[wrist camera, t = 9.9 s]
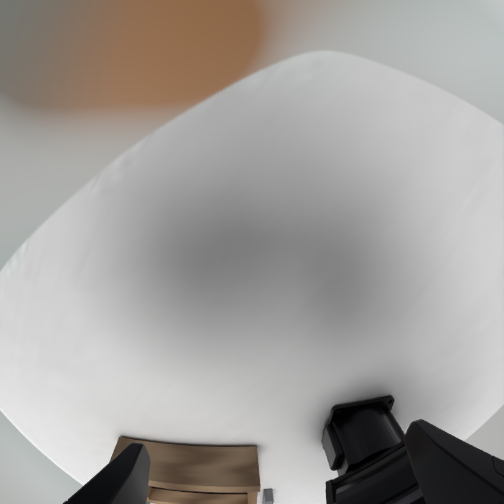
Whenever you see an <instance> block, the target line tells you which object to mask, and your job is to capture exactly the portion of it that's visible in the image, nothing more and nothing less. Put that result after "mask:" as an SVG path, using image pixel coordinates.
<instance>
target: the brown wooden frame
mask: <svg viewBox="0 0 504 504" xmlns="http://www.w3.org/2000/svg"><path fill="white" fill-rule="evenodd" d="M131 442H138V443H143V444H144V445H145V446H146V449H147V451H148V454H149V456H150V472H149V482H148V494H147V501H146V502H150V503H156V504H257V492H260V477H259V466H258V455H257V446H255V447H205V446H187V445H174V444H164V443H155V442H148V441H140V440H134V439H128V438H122V437H119V439H118V441H117V444H116V447H115V449H114V452H113V454H112V457H111V460H110V462H111V461H112V460H113V459H114V458H115V457H116V456H117V455H118V454H119V453H120V452H121V451H123V450H124V449H125V448H126V447H127V446H128V445H129V444H130V443H131ZM110 462H109V463H110ZM151 486H154V487H161V488H168V489H177V490H188V491H202V492H247V494H202V493H188V492H177V491H169V490H161V489H154V488H151Z"/></svg>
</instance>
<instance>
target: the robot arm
mask: <svg viewBox="0 0 504 504" xmlns="http://www.w3.org/2000/svg"><path fill="white" fill-rule="evenodd" d="M393 403H394V398H393V397H392V396H387V397H382V398H378V399H373V400H368V401H363V402H357V403H351V404H345V405H339V406H335V407H333V408H332V410H331V414H330V418H329V422H328V424H327V425H326V427H325V430H324V434H323V438H322V444H323V449H324V450H325V453H326V456H327V459H328V462H329V466H330V469H331V470H333V471H335V470H337V472H338V475H339V477H337V478H335V479H333V480H332V479H331V480H329V481H327V482H326V502H327V504H504V460H501V459H499V458H497V457H495V456H491V455H490V454H488V453H486V452H484V451H482V450H480V449H478V448H476V447H474V446H472V445H470V444H468V443H466V442H464V441H462V440H460V439H458V438H456V437H454V436H453V435H451V434H449V433H447V432H445V431H443V430H441V429H439V428H438V427H436V426H434V425H432V424H430V423H428V422H427V421H425V420H422V419H419V420H416V421H413V422H412V423H411V424H410V426H409V428H408V430H407V432H406V434H404V432H403V430H402V429H401V427H400V426H399V424H398V422H397V421H396V419H395V418H394V416H393V414H392V413H391V408H392V406H393ZM149 472H150V456H149V454H148V451H147V449H146V446H145V445H144V444H143V443H138V442H131V443H130V444H129V445H128V446H127V447H126V448H125V449H124V450H123V451H121V452H120V453H119V454H118V455H117V456H116V457H115V458H114V459H113V460H112V461H111V462H110V463H109V464H107V465H106V466H105V467H104V468H103V469H102V470H101V471H100V472H99V473H98V474H96V475H95V476H94V477H93V478H92V479H91V480H90V481H89V482H87V483H86V484H85V485H84V486H83V487H82V488H81V489H79V490H78V491H77V492H76V493H75V494H74V495H72V496H71V497H70V498H69V499H68V501H65V502H64V503H63V504H146V501H147V494H148V482H149Z"/></svg>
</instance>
